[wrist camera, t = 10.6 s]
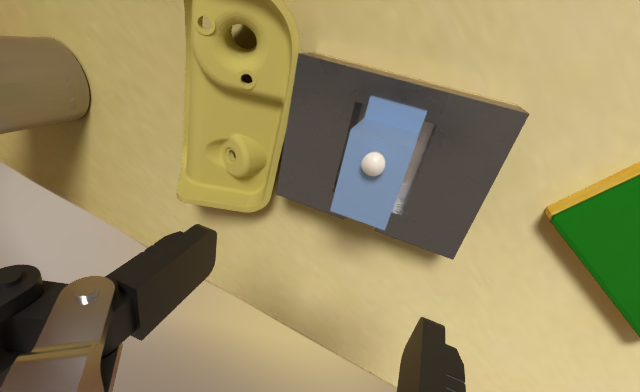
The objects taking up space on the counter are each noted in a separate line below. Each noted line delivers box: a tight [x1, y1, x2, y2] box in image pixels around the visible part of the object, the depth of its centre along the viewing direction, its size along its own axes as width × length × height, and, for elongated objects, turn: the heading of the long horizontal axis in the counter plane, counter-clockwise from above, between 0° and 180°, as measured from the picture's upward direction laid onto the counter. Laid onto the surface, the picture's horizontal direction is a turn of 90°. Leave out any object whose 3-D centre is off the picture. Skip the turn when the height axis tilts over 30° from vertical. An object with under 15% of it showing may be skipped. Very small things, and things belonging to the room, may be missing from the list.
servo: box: [330, 96, 427, 231], centre depth 24 cm, size 4×9×8 cm, turn 168°
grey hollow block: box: [276, 53, 529, 259], centre depth 26 cm, size 16×12×4 cm
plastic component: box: [177, 0, 300, 212], centre depth 29 cm, size 20×7×10 cm
